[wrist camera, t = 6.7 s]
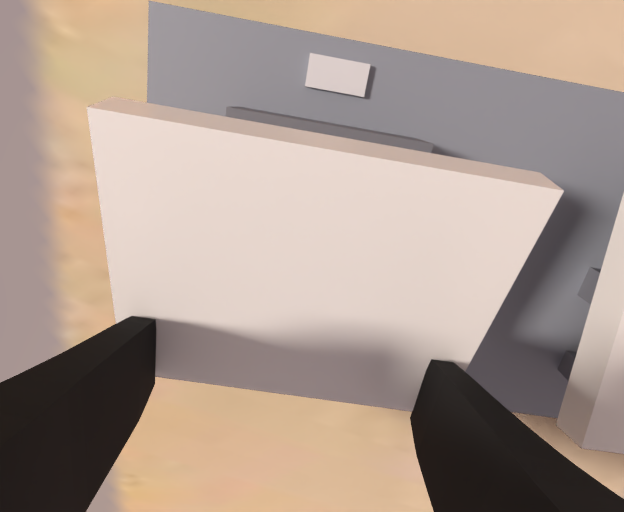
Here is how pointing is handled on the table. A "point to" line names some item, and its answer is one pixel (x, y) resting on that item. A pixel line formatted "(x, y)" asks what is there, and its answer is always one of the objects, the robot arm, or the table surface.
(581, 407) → the plate
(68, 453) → the robot arm
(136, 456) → the table surface
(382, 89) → the switch console
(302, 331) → the front rocker
